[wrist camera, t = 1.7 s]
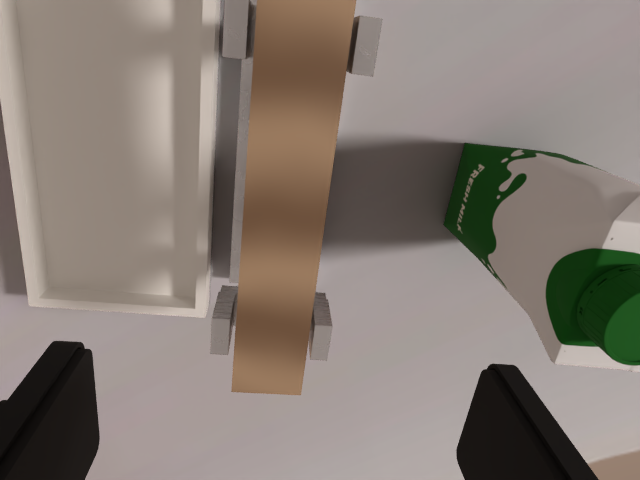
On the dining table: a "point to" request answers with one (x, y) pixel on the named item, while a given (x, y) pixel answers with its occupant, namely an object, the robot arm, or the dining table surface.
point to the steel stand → (241, 46)
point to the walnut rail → (287, 185)
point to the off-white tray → (112, 150)
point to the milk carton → (556, 247)
